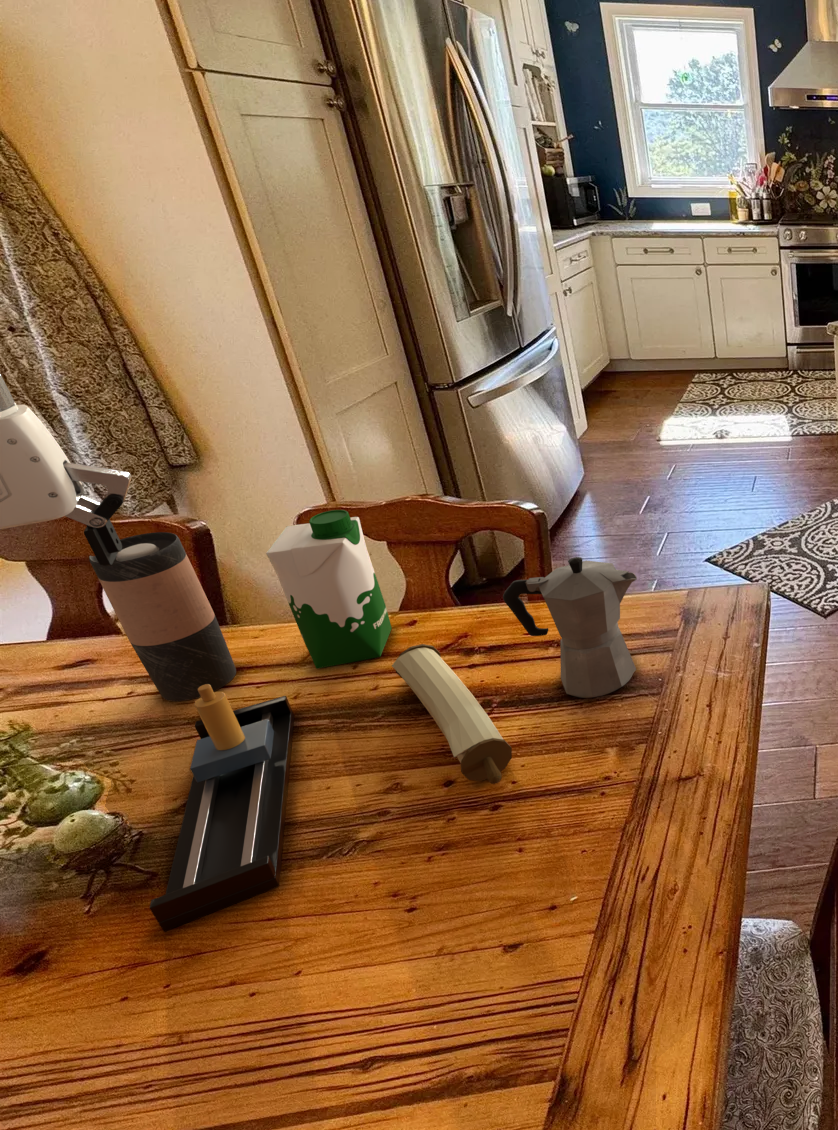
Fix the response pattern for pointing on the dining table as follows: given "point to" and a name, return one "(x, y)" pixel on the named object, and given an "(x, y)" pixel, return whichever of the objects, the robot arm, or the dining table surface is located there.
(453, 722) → the cream curved cylinder
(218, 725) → the sliding carriage
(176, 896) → the rail
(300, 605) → the milk carton
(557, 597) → the coffeepot
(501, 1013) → the dining table surface
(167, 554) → the travel mug
